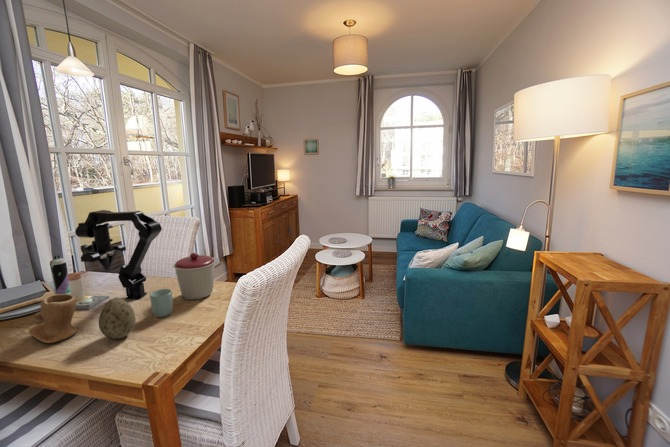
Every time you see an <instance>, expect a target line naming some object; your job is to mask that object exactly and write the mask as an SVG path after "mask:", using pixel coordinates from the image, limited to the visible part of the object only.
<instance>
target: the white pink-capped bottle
mask: <svg viewBox="0 0 670 447" xmlns="http://www.w3.org/2000/svg"><path fill="white" fill-rule="evenodd" d="M67 277H68V281H69V286H70V291H71V295H73V296H75V298H76V301H80V300H83V299H84V298H85V296H86V295H85V291H84V285H83V281H82V272H80V271H76V272H72V273H68V275H67Z"/></svg>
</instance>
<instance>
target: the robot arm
mask: <svg viewBox="0 0 670 447" xmlns="http://www.w3.org/2000/svg"><path fill="white" fill-rule="evenodd" d="M125 221H127V222H130V221H131V222H132V223H133V226H134V228H135V229H136V230H138V233H137V234H138V238H139V240H138V241H137V244H136V246H135V248H134V249H133V250H134V251H133V253H132V255H131V257H130V259H129V262H128V263H126V264H124V265H121V267H120V270H119V271H118V273H117V274H118V276H117V278H118V280H119V282H120V284H121V286H122V288H125V295H126V297H125V298H124V299H125V300H140V299H141V298H143V297H145V296H146V295H147V294H148V292H146V291H145V284H144V282H147V276H146V275H145V274H143V273H142V266H141V265H142V263H143V261H144V260H145V257H146V254H147V253H148V251H149V248H150V246H151V245H152V244H151V243H152V242H153V240H155V239H156V238H157V237H158V236H159V234H161V231H162V230H163V228H162V225H161V224H160V222H158V221H157V220H155V219H154V218H153V217H151V216H148V215H147V214H145V213H144V212H143V211H140V210H135V211H111V210H106V209H100V210H96V211H91V212H88V215H87V218H86V219H85V222H78V226H77V227H75V235H76V237H78V238H87V239H88V238H89V239H91V238H92V239H94V240H92V242H91V244H89V245H88V244H83V245H81V246H80V251H81V252H82V253H83V255H81V256H80V262H83V263H94V262H97V261H98V262H99V263H100V264H101V266H102V267H103V269H104V270H105V271H106V272H107V271H109V270H110V269H111V266H112V264H113V261H114V259H115V257H116V256H117V253H114V252H116V251H119V252H124V251H126V245H125V244H122V243H121V244H118V243H117V244H112V242H113V241H114V240H113V238H111V235H110V230H109V229H112V228H113V226H112V225H111V224H110V223H109V222H125ZM142 222H143V223H142Z"/></svg>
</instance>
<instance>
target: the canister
mask: <svg viewBox="0 0 670 447" xmlns="http://www.w3.org/2000/svg"><path fill="white" fill-rule="evenodd" d="M216 261H217V260H216V259H215V258H214V257H211V256H210V255H204V254H202V255H201V254H200V255H199V253H197V252H192V253H191V254H189V256H187V257H183V258H180V259H178V260H177V261H175V262H174V263H173V264H172V268H174V269H175V274H176V278H177V282H178V283H177V284H178V287H179V290H180V294H181V295H182V297H183V298H185V299H186V300H188V301H189V300H191V301H195V300H200V299H201V300H202V299H204V297H205V298H207V297H208V296H210V295H211V294H212V292H213V290H214V278H215V264H216Z"/></svg>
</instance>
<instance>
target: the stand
mask: <svg viewBox="0 0 670 447" xmlns="http://www.w3.org/2000/svg"><path fill="white" fill-rule="evenodd" d="M33 318H34V322H36V323H37V322H38V323H40V322H41V323H44V320H43V318H42V316H41V310H40V311H38V312H36V313H35V314H33Z"/></svg>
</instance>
